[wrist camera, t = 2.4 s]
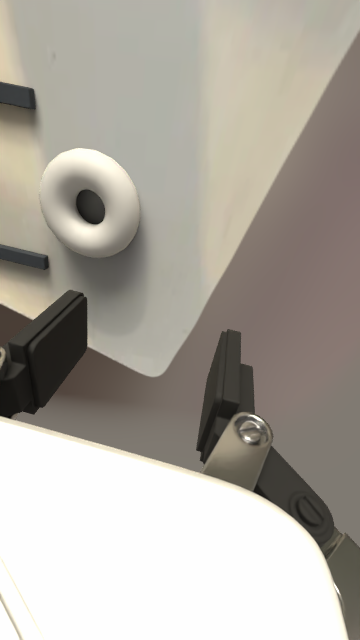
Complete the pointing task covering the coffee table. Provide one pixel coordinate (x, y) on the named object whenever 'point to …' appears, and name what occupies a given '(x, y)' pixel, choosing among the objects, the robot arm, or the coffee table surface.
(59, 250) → the coffee table surface
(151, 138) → the coffee table surface
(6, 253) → the frame
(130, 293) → the coffee table surface
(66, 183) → the donut
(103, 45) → the coffee table surface
